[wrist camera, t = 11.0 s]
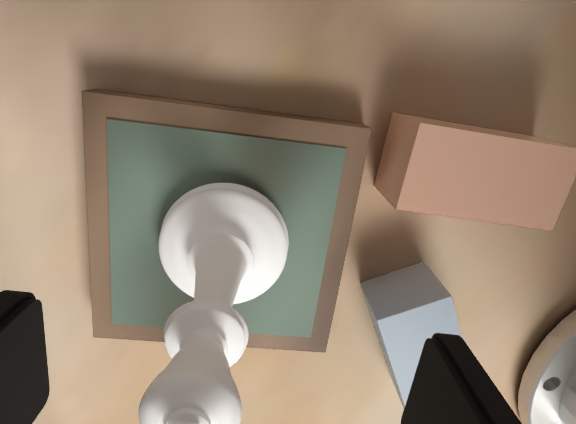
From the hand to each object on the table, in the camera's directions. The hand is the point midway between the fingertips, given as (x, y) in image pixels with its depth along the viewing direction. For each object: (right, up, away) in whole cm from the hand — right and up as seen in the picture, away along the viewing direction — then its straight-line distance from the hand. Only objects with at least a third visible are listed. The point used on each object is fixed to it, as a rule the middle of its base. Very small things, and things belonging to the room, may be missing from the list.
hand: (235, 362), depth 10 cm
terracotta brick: (+8, +6, +7) cm, 12 cm away
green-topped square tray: (-1, +3, +7) cm, 8 cm away
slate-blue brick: (+7, -2, +9) cm, 12 cm away
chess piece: (-1, +3, +6) cm, 6 cm away
